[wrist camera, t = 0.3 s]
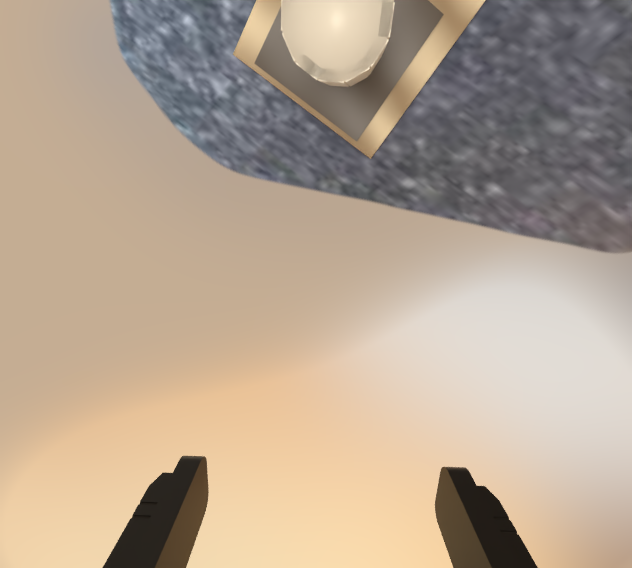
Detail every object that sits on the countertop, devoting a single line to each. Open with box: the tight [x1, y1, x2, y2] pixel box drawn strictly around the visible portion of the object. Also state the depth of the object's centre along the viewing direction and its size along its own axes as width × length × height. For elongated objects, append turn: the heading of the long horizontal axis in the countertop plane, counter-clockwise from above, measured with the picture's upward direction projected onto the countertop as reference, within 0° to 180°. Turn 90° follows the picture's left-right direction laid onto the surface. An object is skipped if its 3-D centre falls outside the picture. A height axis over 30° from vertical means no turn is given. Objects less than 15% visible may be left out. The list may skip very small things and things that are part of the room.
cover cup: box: [281, 0, 395, 87], centre depth 23 cm, size 6×6×9 cm
